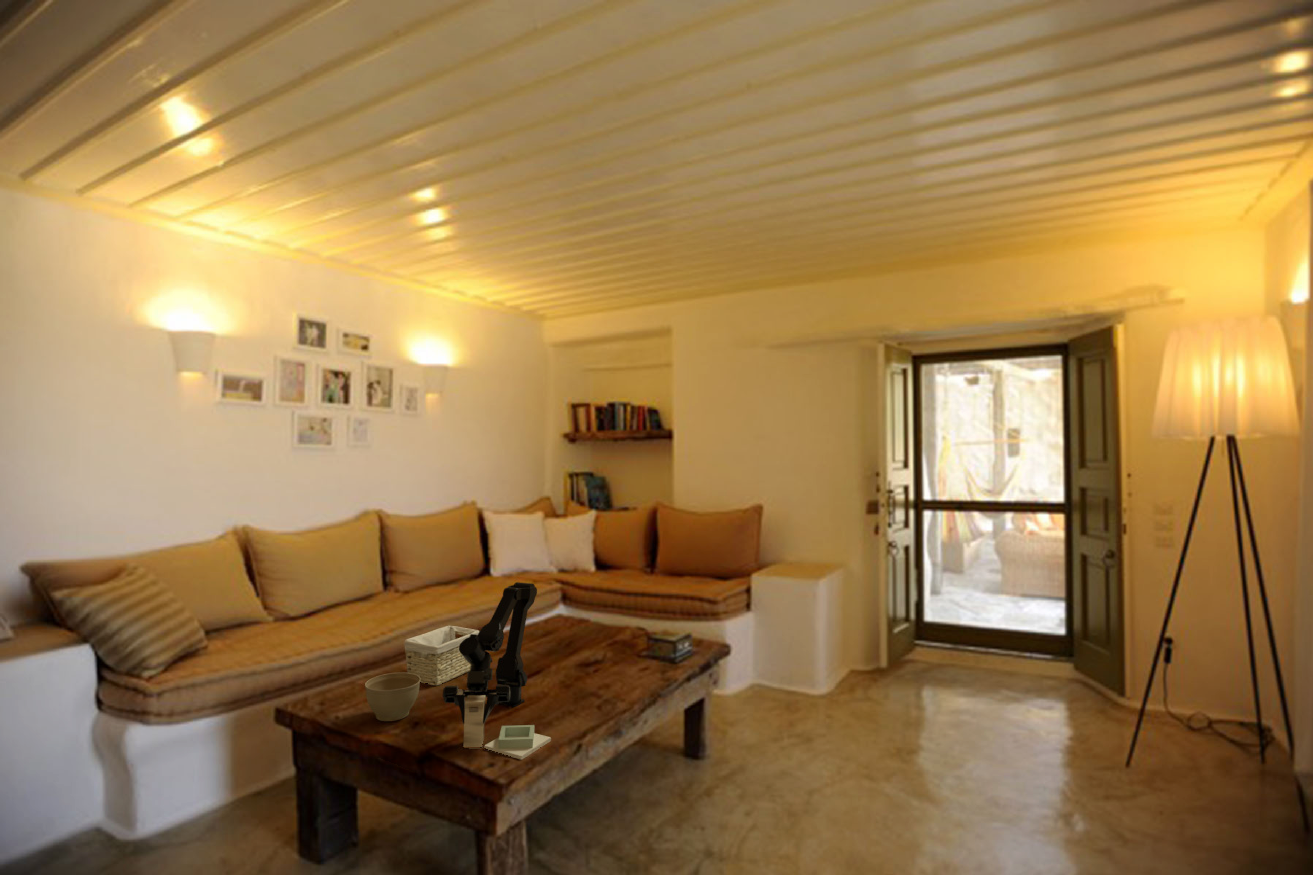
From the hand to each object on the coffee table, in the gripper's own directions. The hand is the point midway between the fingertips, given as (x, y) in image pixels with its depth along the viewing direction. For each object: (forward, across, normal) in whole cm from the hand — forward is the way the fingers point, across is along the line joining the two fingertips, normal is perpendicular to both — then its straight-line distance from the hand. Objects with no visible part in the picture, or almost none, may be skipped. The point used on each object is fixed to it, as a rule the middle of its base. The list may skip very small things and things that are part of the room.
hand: (473, 722), depth 191 cm
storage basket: (-39, -19, +48) cm, 65 cm away
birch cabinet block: (+4, 0, +6) cm, 7 cm away
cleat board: (+4, +12, +5) cm, 14 cm away
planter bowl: (-12, -28, +22) cm, 37 cm away
